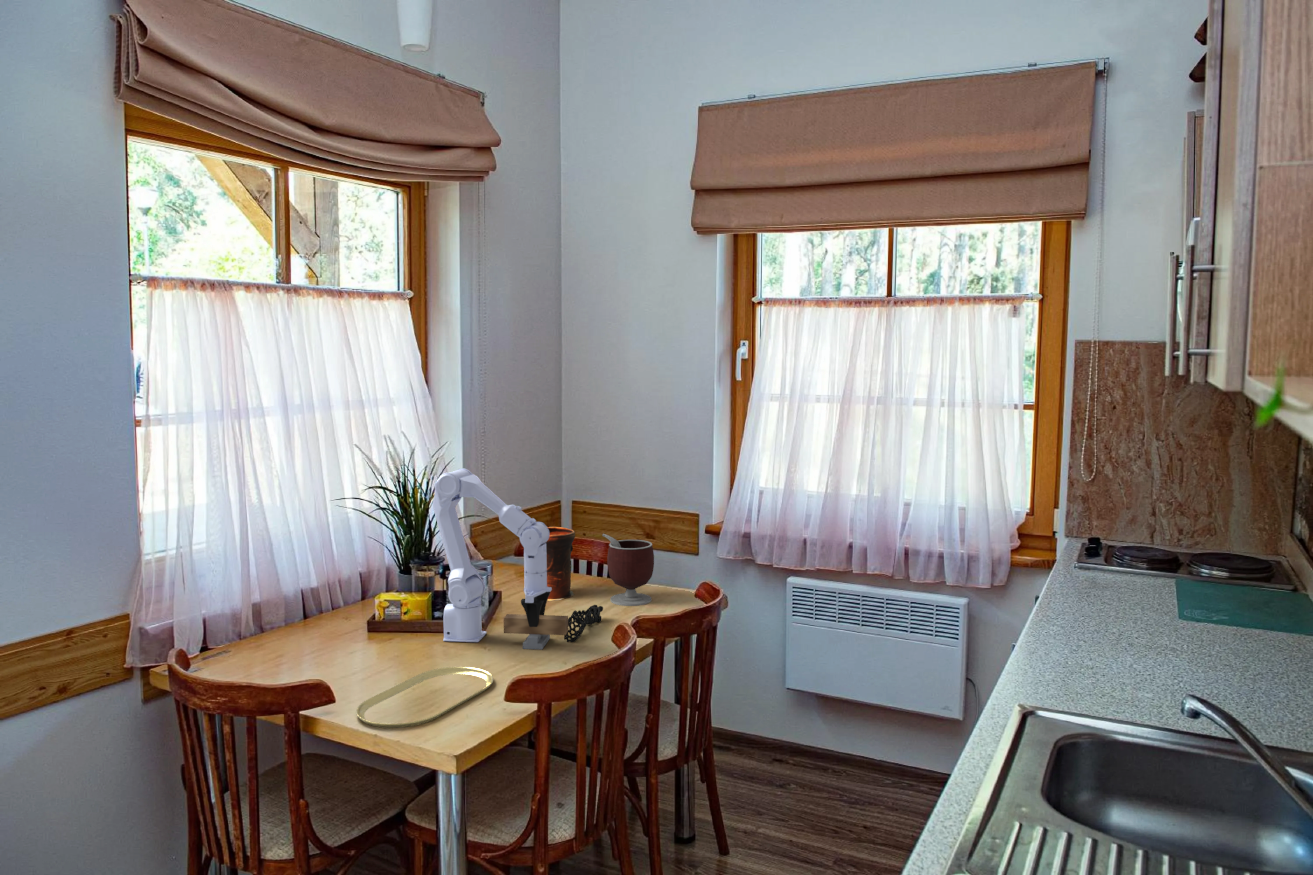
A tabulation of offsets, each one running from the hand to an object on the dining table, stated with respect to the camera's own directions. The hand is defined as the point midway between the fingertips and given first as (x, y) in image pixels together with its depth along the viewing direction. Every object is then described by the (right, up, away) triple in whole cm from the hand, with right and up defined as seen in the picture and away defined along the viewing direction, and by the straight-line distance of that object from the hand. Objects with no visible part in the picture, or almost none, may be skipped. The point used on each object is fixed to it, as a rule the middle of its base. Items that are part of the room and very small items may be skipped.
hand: (536, 622), depth 244 cm
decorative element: (+11, -5, +12) cm, 17 cm away
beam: (0, -2, 0) cm, 2 cm away
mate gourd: (+22, -1, +41) cm, 47 cm away
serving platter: (-19, -10, -36) cm, 42 cm away
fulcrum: (0, -5, +1) cm, 5 cm away
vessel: (-1, -1, +48) cm, 48 cm away
